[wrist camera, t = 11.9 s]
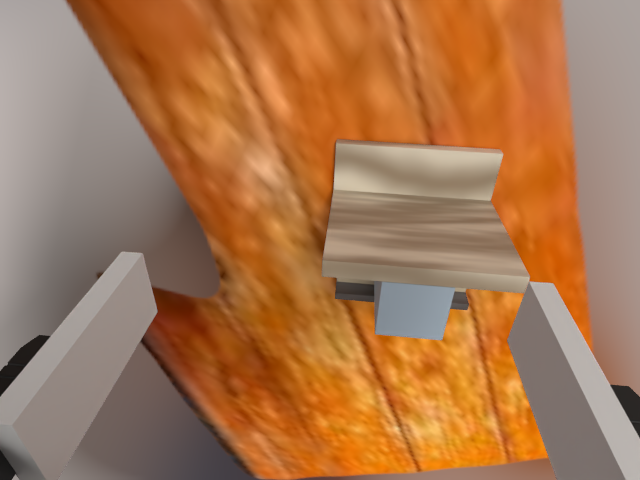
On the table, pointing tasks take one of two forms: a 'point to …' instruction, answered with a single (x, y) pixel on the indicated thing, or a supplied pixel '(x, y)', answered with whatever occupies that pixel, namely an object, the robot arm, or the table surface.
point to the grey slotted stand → (418, 221)
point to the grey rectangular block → (411, 309)
